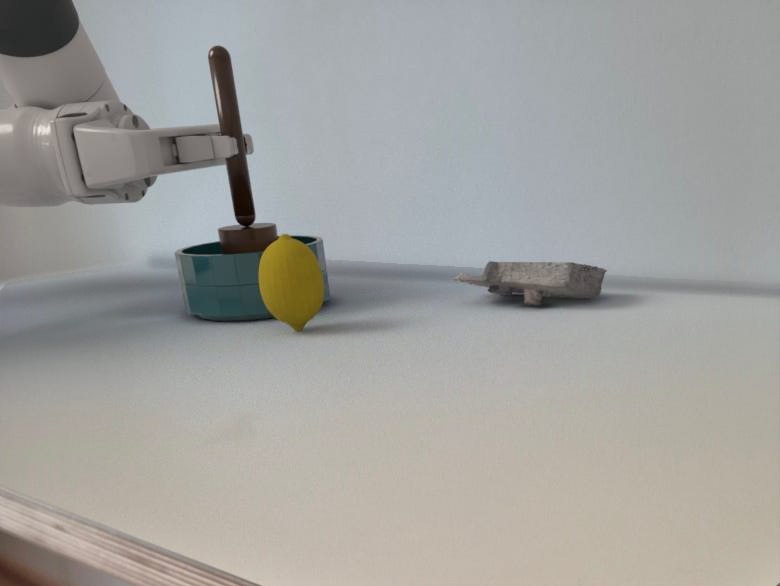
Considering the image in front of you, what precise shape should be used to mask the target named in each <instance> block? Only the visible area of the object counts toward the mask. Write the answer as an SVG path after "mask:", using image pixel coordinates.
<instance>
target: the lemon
mask: <svg viewBox="0 0 780 586" xmlns="http://www.w3.org/2000/svg"><path fill="white" fill-rule="evenodd" d="M279 236H280V237H279V239H278V240H276V241H274V242H273V243H271V244H270V245H269V246H268V247H267V248H266V250H265V251H264V253H263V254H262V257H261V260H260V264H259V287H260V292H261V296H262V299H263V301H264V304H265V305H266V307H267V309H268V310H269V312H270V313H271V314H272V315H273V316H274V318H275V319H276V320H278V321H280V322H281V323H285V324H287V325H288V326H289V327H291V329H292V330H294V331H296V332H299V331H302V330H303V329H304V327H306V324H307V323H309V321H311V320H313V319H314V318H315V317H316V316H317V315H318V313H319V312H320V311H321V308H322V306H323V303H324V302H323V299H324V280H323V275H322V271H321V268H320V265H319V263H318V260H317V258H316V256H315V254H314V253H313V251H312V250H311V249H310V248H309V247H308V246H307V245H305V244H304V243H302V242H301V241H298V240H296V239H293V238H291V237H290V234H287V233H283V234H280V235H279Z"/></svg>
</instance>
